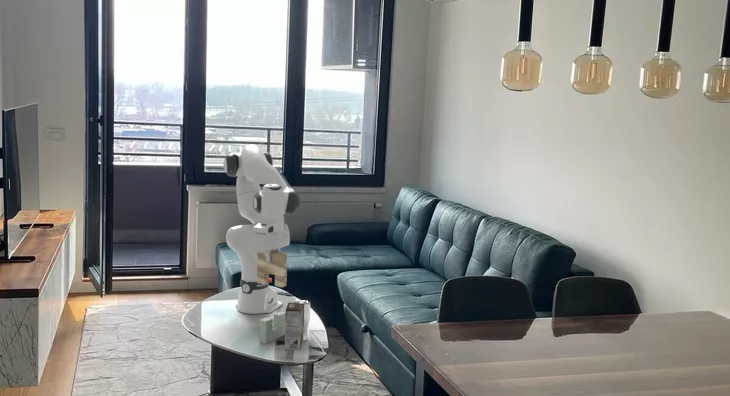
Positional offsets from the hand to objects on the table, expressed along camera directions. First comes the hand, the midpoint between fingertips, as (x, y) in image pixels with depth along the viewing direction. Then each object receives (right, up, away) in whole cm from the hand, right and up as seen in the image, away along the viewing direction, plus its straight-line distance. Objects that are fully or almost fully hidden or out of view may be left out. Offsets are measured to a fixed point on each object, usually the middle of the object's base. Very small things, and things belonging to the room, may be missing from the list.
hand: (272, 260), depth 272 cm
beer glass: (+11, -32, +4) cm, 34 cm away
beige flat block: (0, -10, +1) cm, 10 cm away
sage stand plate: (0, -31, +4) cm, 32 cm away
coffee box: (+9, -33, -4) cm, 34 cm away
